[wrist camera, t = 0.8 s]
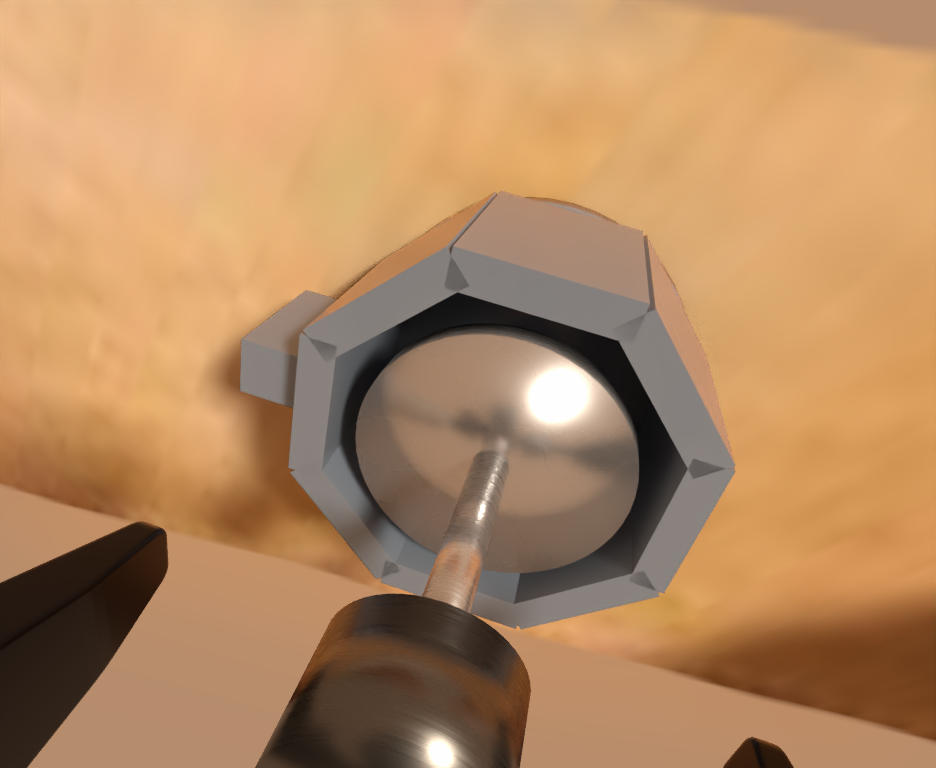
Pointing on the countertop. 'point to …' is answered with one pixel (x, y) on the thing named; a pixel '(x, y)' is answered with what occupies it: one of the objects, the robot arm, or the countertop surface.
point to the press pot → (528, 306)
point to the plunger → (461, 545)
